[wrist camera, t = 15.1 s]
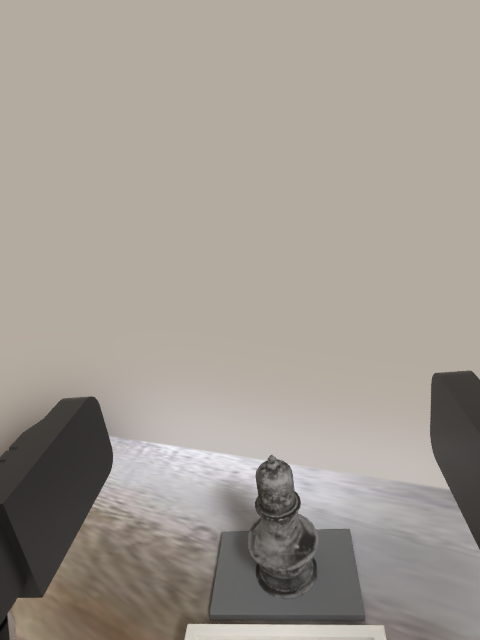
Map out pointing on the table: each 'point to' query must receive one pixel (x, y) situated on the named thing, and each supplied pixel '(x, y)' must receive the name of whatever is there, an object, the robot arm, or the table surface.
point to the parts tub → (284, 632)
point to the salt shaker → (282, 535)
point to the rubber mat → (317, 604)
